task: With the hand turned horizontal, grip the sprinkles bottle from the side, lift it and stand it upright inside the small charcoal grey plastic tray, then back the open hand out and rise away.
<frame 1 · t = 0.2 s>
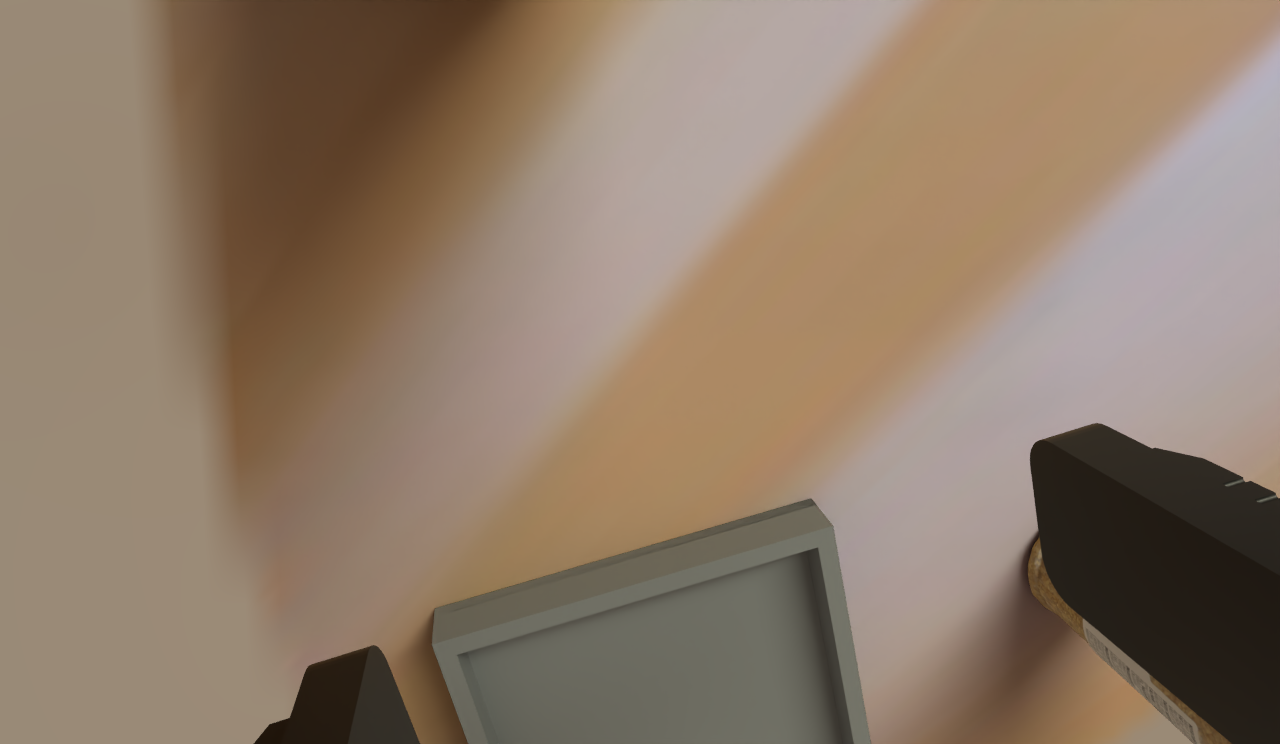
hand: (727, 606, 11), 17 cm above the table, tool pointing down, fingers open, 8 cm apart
sprinkles bottle: (1074, 554, 33), on the table
condiment tray: (667, 707, 32), on the table
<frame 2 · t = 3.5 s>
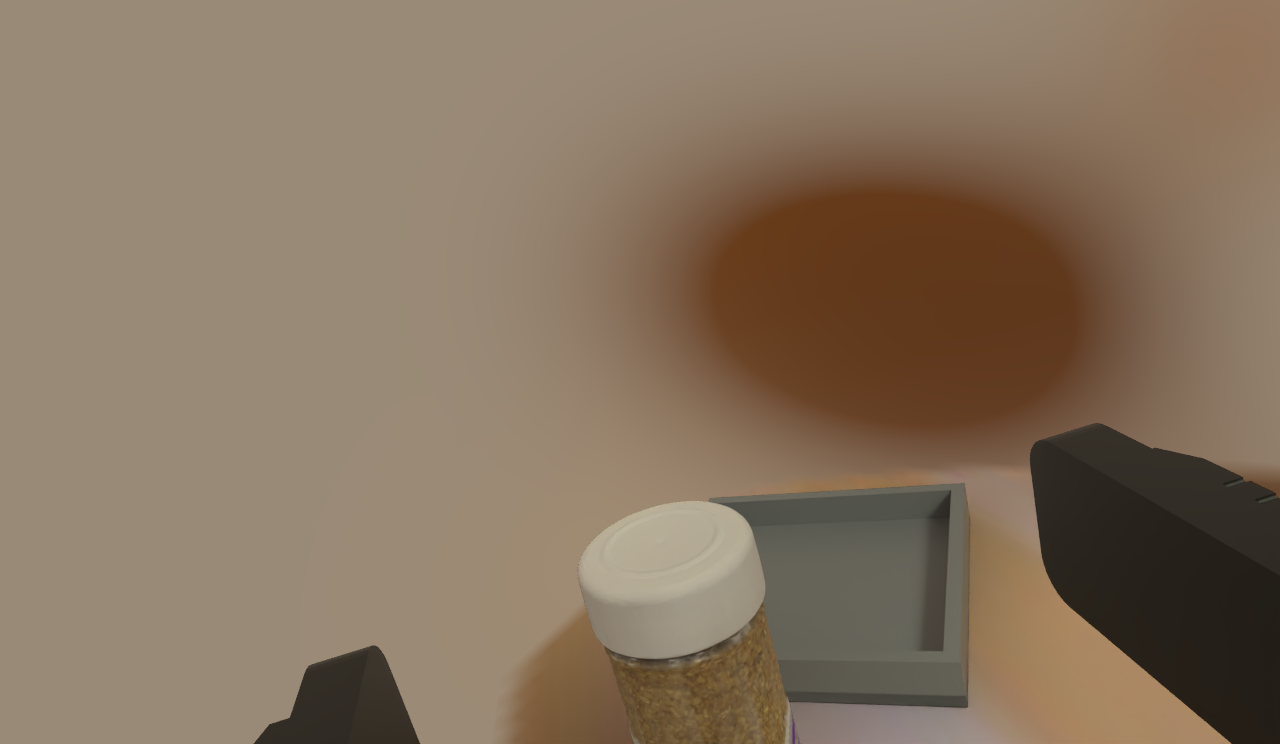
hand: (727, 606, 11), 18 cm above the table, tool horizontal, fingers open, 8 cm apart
condiment tray: (817, 600, 41), on the table
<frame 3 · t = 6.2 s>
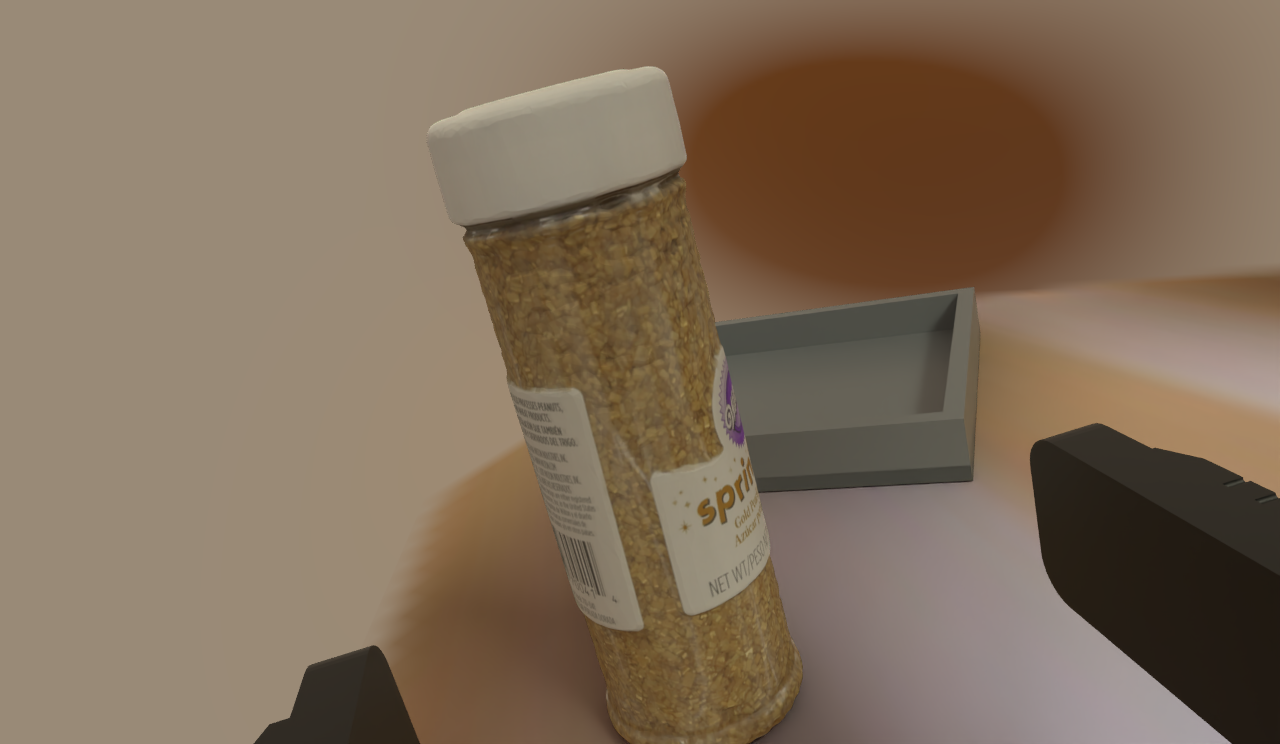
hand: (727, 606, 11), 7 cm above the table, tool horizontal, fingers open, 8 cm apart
sprinkles bottle: (707, 701, 20), on the table
condiment tray: (797, 409, 35), on the table
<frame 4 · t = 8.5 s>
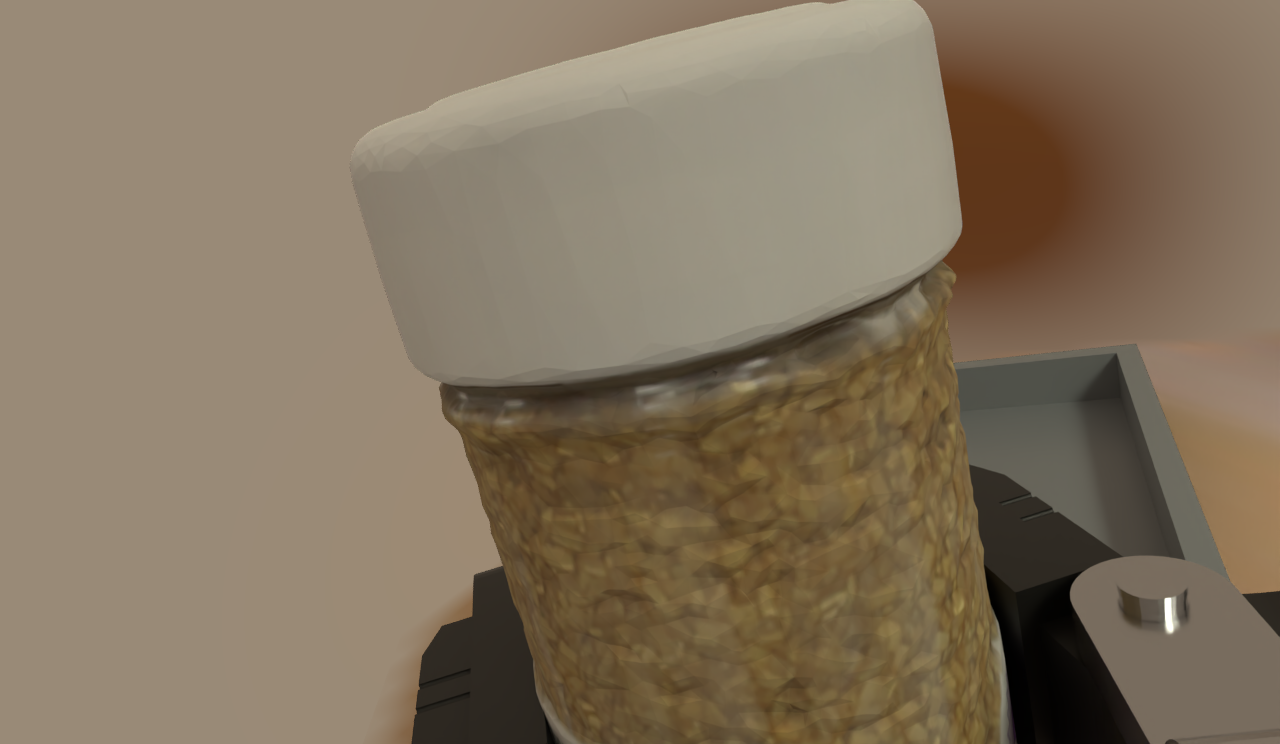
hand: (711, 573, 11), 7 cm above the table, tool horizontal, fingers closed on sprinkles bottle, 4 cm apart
condiment tray: (911, 517, 25), on the table
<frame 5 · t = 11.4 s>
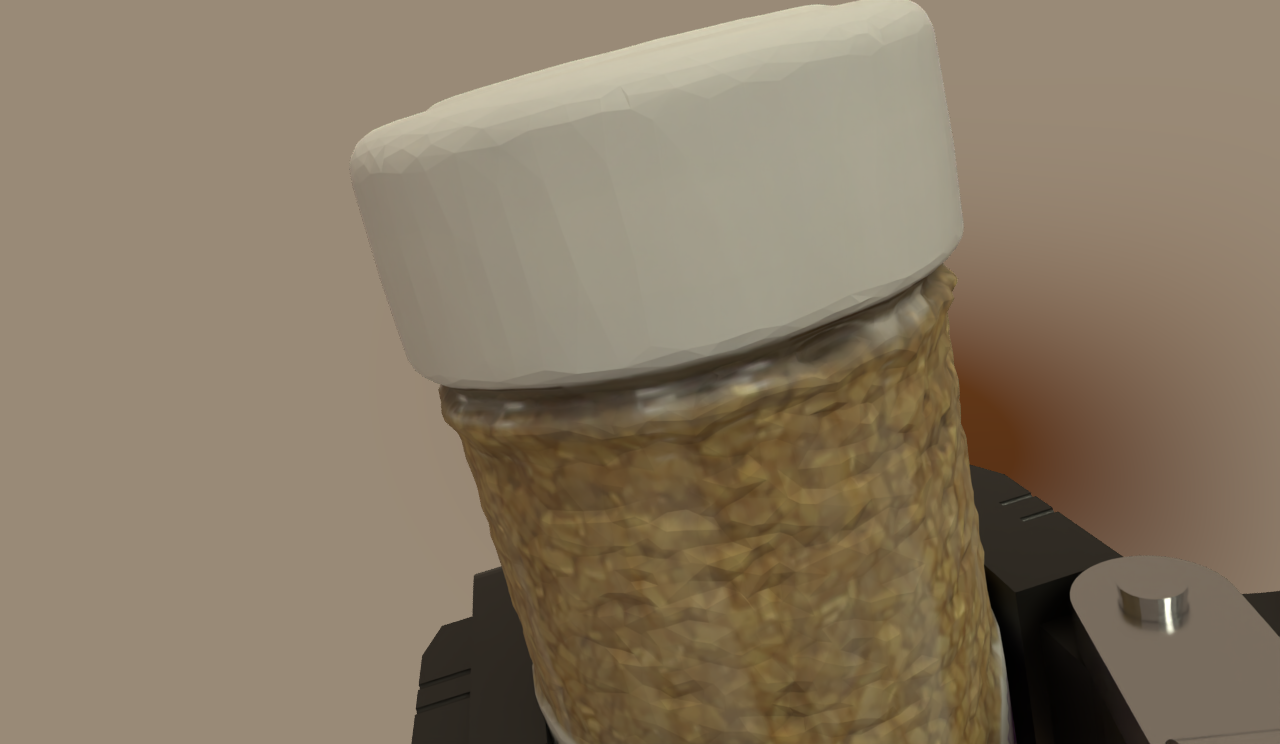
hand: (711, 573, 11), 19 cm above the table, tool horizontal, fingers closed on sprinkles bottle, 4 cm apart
when the fingers open (9 cm above the table, at t = 14.4 s): sprinkles bottle drops 1 cm, resting on condiment tray.
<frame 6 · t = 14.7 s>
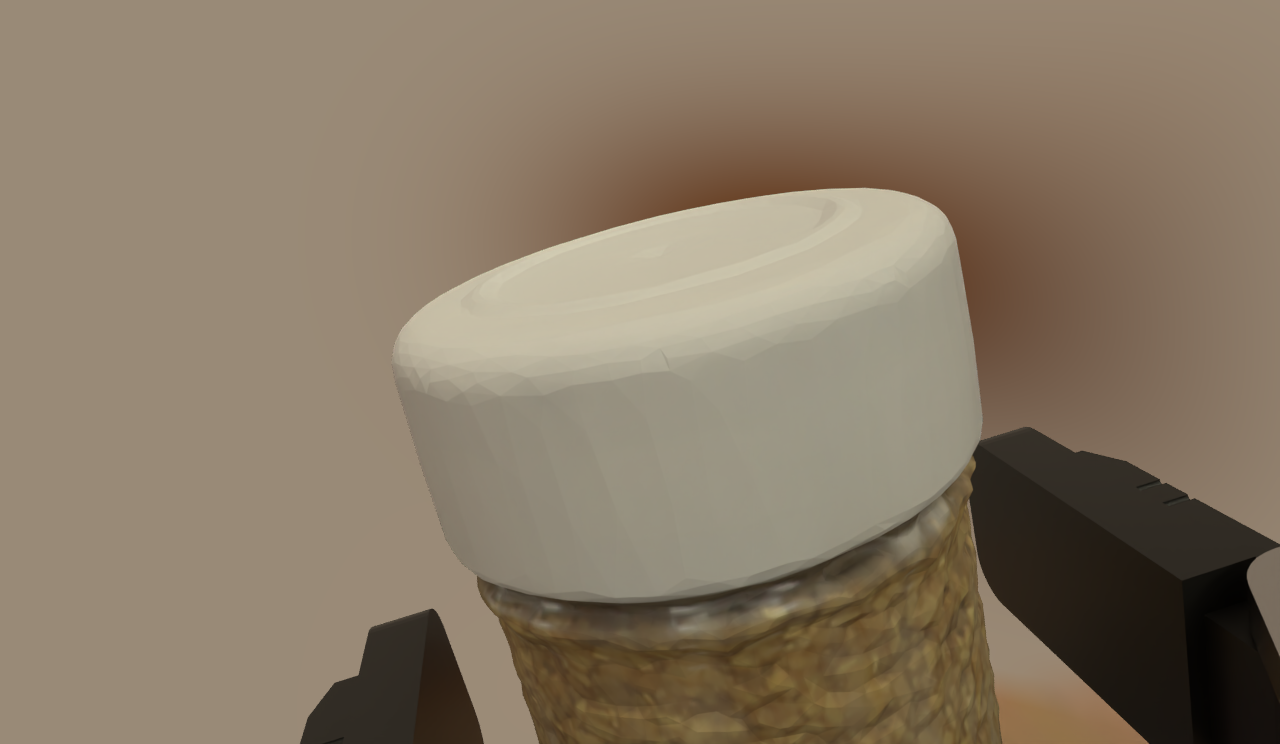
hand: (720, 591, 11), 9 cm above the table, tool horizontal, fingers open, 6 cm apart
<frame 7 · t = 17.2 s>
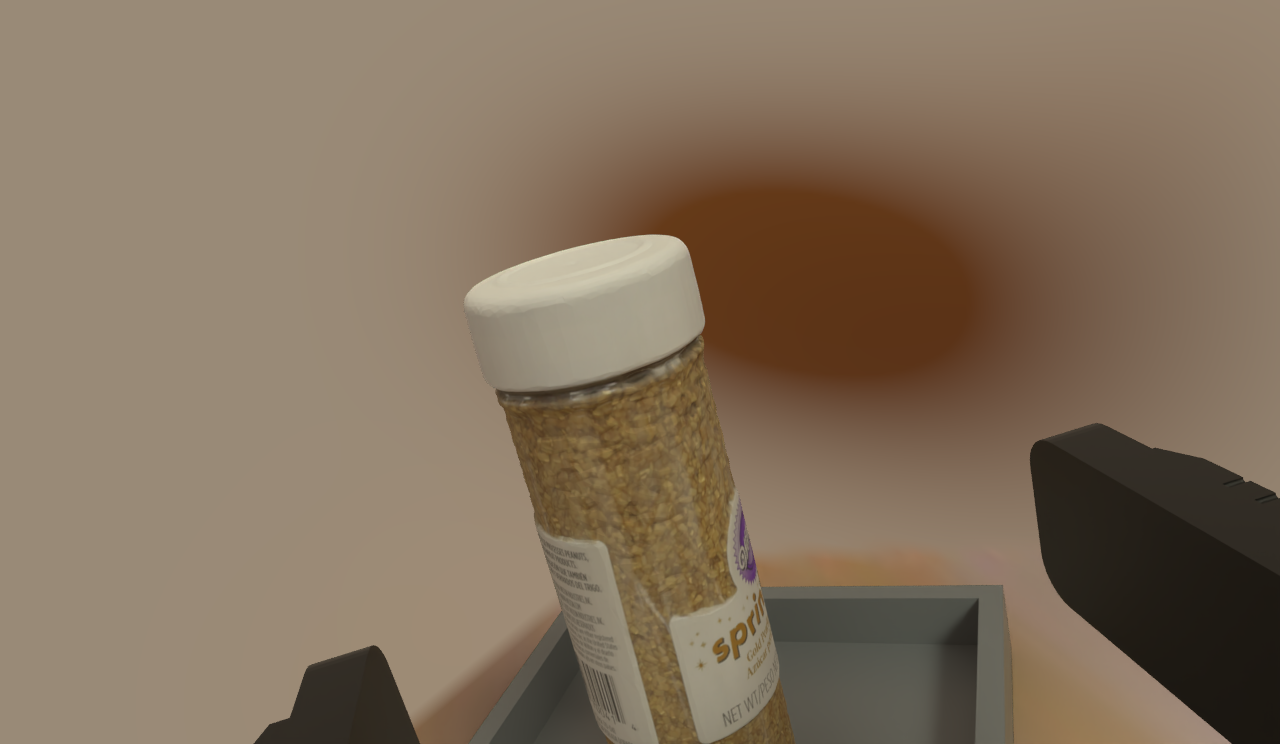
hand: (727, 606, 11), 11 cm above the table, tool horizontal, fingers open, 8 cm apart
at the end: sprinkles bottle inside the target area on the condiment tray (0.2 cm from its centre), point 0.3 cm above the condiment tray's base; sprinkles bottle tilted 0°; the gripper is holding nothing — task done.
